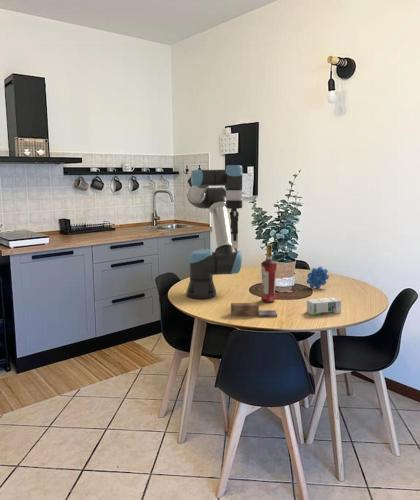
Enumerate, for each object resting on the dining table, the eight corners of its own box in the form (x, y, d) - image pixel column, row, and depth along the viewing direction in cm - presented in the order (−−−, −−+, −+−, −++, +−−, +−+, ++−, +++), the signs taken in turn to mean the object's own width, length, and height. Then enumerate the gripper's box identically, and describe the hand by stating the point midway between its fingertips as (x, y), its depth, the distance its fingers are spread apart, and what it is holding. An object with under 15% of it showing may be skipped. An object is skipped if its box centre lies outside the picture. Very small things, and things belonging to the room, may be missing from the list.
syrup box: (312, 303, 193) (342, 300, 197) (306, 299, 199) (335, 296, 202) (312, 315, 194) (341, 312, 198) (306, 311, 200) (334, 308, 203)
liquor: (258, 299, 218) (258, 244, 213) (271, 298, 220) (272, 242, 215) (265, 304, 211) (266, 246, 206) (278, 302, 214) (279, 245, 209)
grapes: (326, 286, 241) (327, 264, 239) (329, 289, 234) (330, 267, 232) (305, 286, 242) (305, 264, 240) (307, 289, 235) (307, 267, 233)
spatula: (231, 317, 193) (231, 306, 192) (230, 312, 199) (230, 302, 198) (277, 317, 193) (277, 306, 192) (275, 312, 199) (275, 302, 198)
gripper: (244, 201, 190) (243, 250, 193) (240, 197, 214) (240, 240, 218) (226, 201, 190) (226, 250, 194) (225, 197, 214) (225, 240, 218)
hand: (234, 245), depth 206 cm, fingers open, 13 cm apart
